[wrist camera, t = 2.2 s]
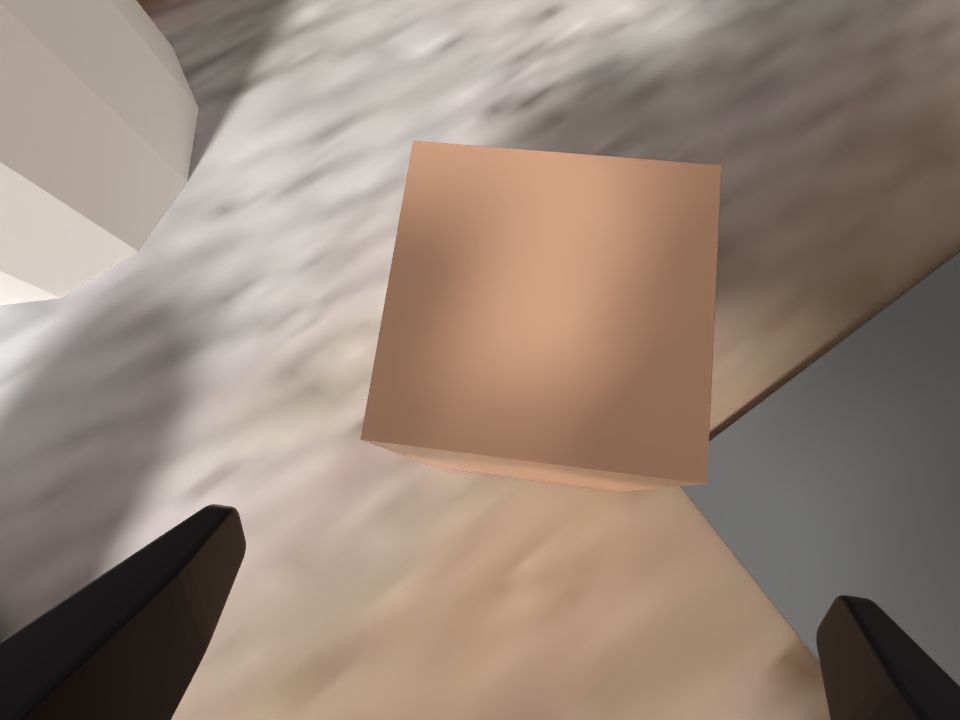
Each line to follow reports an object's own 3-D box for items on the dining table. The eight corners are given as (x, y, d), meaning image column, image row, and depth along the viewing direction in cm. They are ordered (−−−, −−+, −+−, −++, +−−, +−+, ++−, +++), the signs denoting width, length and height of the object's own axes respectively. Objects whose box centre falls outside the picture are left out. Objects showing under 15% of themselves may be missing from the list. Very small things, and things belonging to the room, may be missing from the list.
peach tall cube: (630, 315, 22) (721, 165, 12) (617, 491, 20) (707, 484, 10) (459, 297, 22) (413, 140, 13) (434, 467, 21) (360, 439, 11)
